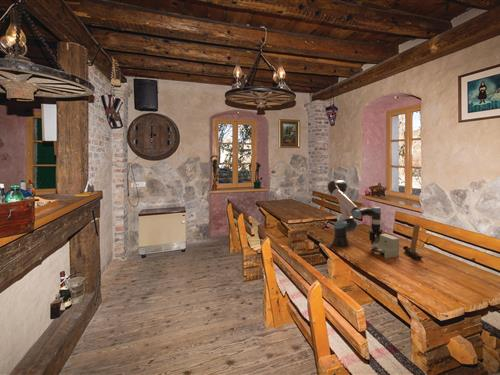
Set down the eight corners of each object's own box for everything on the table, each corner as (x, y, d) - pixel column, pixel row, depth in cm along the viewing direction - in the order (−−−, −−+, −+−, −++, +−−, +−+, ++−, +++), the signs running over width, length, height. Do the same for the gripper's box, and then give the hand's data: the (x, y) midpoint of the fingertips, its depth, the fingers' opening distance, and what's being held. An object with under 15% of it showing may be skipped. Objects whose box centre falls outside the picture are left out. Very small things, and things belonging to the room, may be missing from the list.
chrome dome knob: (372, 253, 244) (372, 251, 244) (379, 252, 245) (379, 251, 245) (377, 255, 238) (377, 253, 238) (383, 254, 239) (383, 253, 239)
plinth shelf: (372, 252, 246) (372, 235, 244) (384, 250, 250) (385, 233, 248) (385, 258, 230) (386, 240, 228) (398, 256, 234) (399, 238, 233)
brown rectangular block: (371, 248, 254) (372, 236, 253) (375, 247, 255) (375, 235, 254) (386, 255, 237) (387, 241, 235) (390, 254, 238) (390, 241, 237)
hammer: (422, 262, 225) (428, 230, 216) (416, 262, 225) (422, 230, 216) (408, 250, 244) (413, 219, 235) (402, 250, 244) (407, 220, 235)
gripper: (371, 225, 244) (370, 250, 247) (386, 223, 249) (385, 247, 252) (365, 223, 251) (364, 247, 254) (380, 221, 256) (379, 245, 259)
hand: (375, 247), depth 253 cm, fingers closed on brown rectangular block, 4 cm apart
